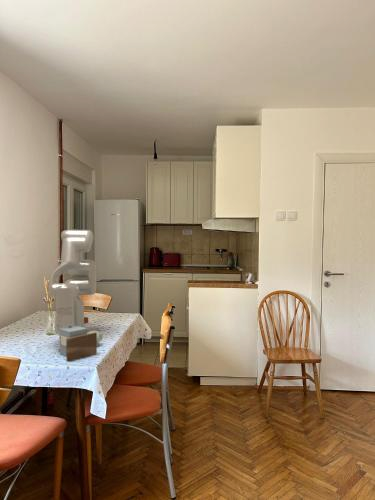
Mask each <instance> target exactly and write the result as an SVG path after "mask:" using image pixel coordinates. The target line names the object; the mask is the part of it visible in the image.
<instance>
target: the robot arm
mask: <svg viewBox="0 0 375 500" xmlns="http://www.w3.org/2000/svg"><path fill="white" fill-rule="evenodd" d="M60 238H61V241H62V243H61V245H62V246H61V254H60V255H61V256H60V264H59V265H58V266H57V267H56V268H55V269H54V271H53V272H52V273H51V275H50V280H49V285H48V286H49V288H48V292H49V297H50V298H52V299H56V301H55V303H56V306H55V307H56V308H55V309H56V310H55V313H56V314H55V320H54V321H55V322H54V333H55V334H57V335H58V336H59V337H60V329H61V328H65V329H66V328H69V327H73V326H80V327H83V328H85V324H84V317H85V303H84V300H83V299H82V297H81V296H91V295H94V294H96V291H97V266H96V262H95V260H92V259H84V256H83V255H84V253H89V252H90V251H91V249H92V247H93V246H92V245H93V242H94V233H93V232H92V230H89V229H66V230H63V231H61V233H60ZM66 272H67V273H68V275H69V276H72V277H87V278H69V279H67V280H66V281H65V282H64V283H63V282H61V283H60V282H59V283H57V280H58V278H59V277H60V276H61V275H63V274H64V273H66Z"/></svg>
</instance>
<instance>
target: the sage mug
mask: <svg viewBox="0 0 375 500" xmlns="http://www.w3.org/2000/svg"><path fill="white" fill-rule="evenodd" d="M94 332H96V333H97V348H98V347H100V342H101V341H103V332H100V331H99V330H89V331H87V334H90V333H94Z"/></svg>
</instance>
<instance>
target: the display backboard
mask: <svg viewBox="0 0 375 500" xmlns="http://www.w3.org/2000/svg"><path fill="white" fill-rule="evenodd" d="M97 348H98V347H97V333H96V332H94V333H90V334H85V335H80V336H76V337H71V338H66V356H65V359H66V362H71V361H75V360H79V359H82V358H86V357H90V356H93V355H97V354H98V352H97V351H98V350H97Z"/></svg>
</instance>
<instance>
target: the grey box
mask: <svg viewBox="0 0 375 500" xmlns="http://www.w3.org/2000/svg"><path fill="white" fill-rule="evenodd" d="M87 332H88V328H87V327H84V328H83V327H80V326H73V327H69V328H66V329H65V328H61V329H60V336H59V355H61V356H63V357H66V338H71V337H76V336H80V335H85V334H87Z"/></svg>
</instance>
